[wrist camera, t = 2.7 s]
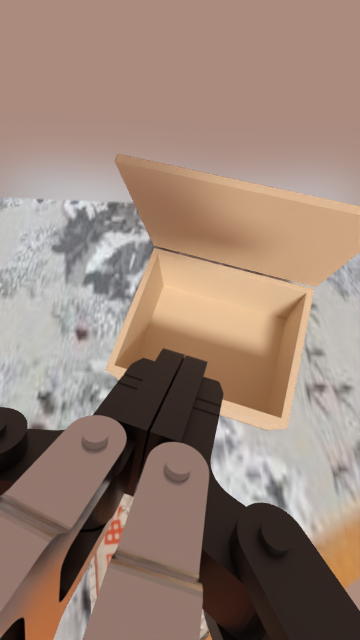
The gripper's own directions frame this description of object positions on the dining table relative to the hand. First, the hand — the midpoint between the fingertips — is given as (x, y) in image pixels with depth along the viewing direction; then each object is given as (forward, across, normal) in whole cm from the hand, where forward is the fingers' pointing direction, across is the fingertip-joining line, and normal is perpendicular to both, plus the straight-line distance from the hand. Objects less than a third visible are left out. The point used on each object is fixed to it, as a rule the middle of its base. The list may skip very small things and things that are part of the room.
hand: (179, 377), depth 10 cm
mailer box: (+23, 0, +12) cm, 26 cm away
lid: (+16, 0, -2) cm, 17 cm away
